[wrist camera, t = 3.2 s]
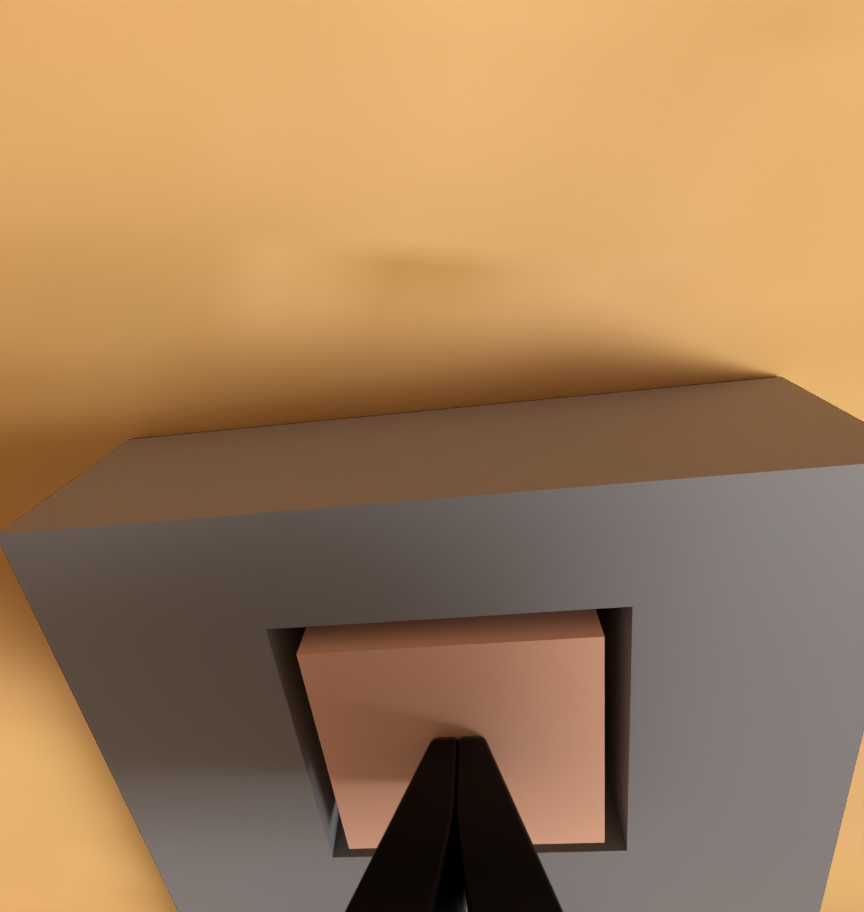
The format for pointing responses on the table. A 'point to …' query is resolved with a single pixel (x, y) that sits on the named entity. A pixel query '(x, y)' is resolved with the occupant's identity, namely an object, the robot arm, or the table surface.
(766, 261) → the table surface
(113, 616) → the keypad
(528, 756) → the terracotta key
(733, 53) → the table surface
